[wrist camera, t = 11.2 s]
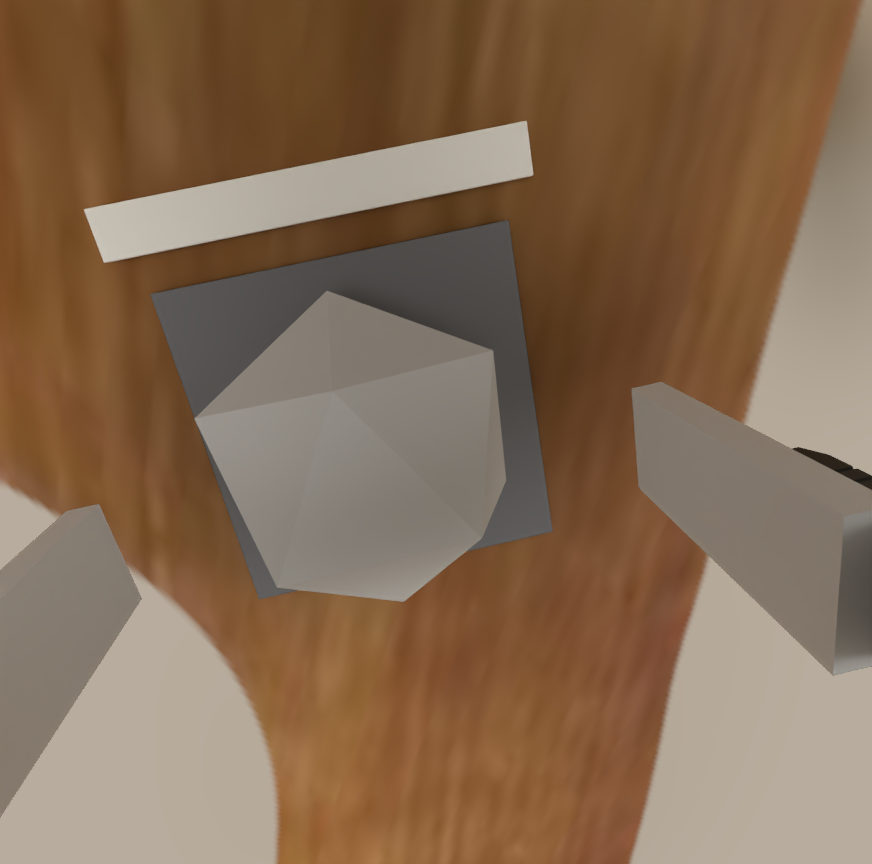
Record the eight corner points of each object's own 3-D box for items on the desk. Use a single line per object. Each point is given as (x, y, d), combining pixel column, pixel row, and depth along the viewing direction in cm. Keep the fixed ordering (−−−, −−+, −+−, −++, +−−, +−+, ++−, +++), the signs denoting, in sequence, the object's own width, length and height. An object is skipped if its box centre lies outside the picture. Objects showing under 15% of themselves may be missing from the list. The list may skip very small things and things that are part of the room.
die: (275, 533, 22) (437, 710, 16) (95, 404, 16) (249, 619, 10) (413, 386, 24) (606, 495, 18) (302, 215, 17) (545, 294, 11)
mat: (522, 124, 18) (526, 121, 18) (573, 521, 23) (577, 527, 23) (91, 210, 18) (83, 209, 17) (236, 599, 22) (233, 606, 22)
